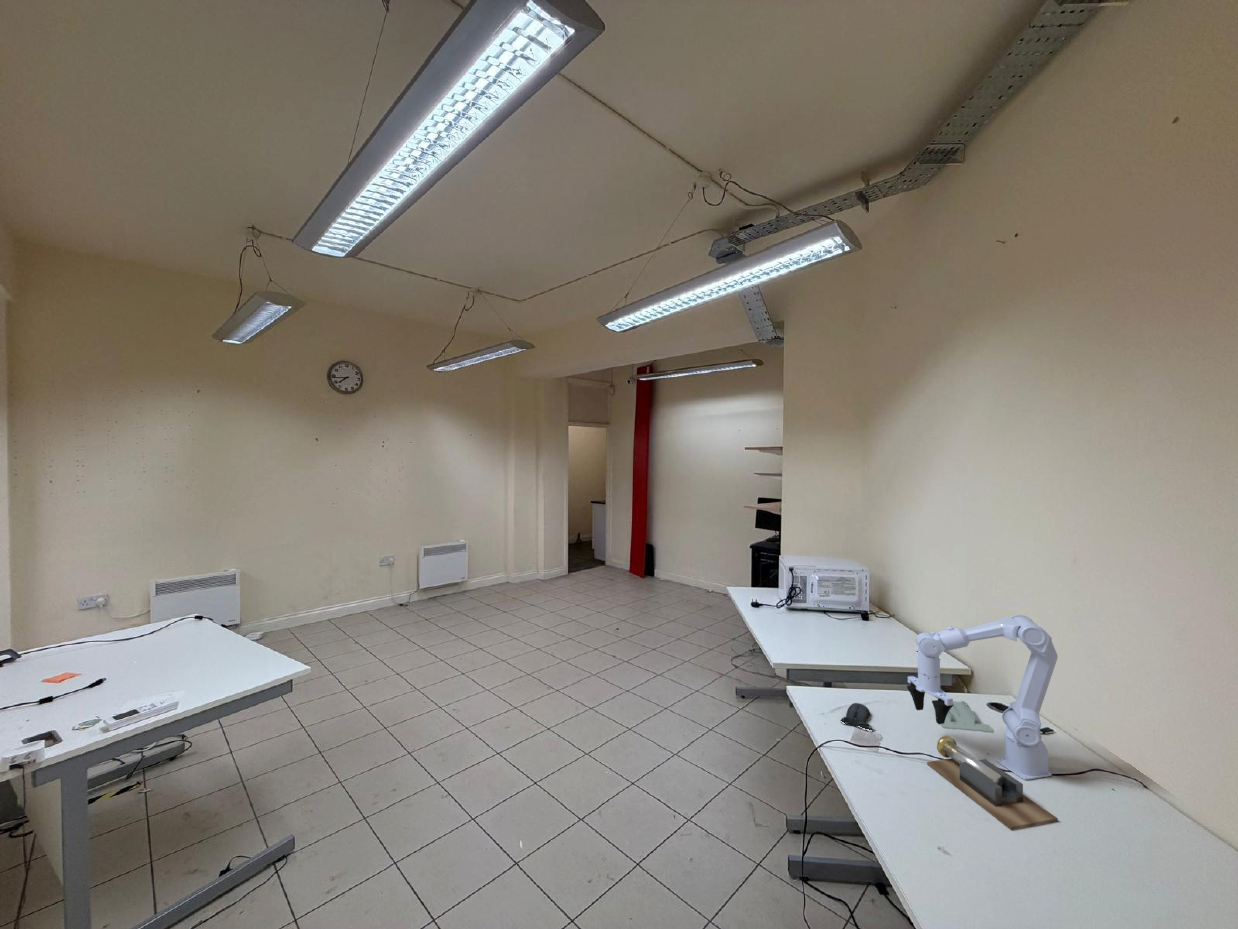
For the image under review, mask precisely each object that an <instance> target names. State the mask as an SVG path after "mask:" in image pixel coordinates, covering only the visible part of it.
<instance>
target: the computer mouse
mask: <svg viewBox="0 0 1238 929" xmlns="http://www.w3.org/2000/svg"><path fill="white" fill-rule="evenodd" d="M870 717H871V712H870V709H869V708H868V707H867V706H866V705H865V704H863V703H858V702H854V703H851V705H850V706H849V707H848V708H847V710H846V715H845V716H843V717H841V719H840V721H842V722H843V721H844V722H846V723H845V724H846V725H845V726H852V725H854V726H853V727H855V726H860V727H862V728H865V729H869V730H873V731H874V725H872V724H870V723H867V720H869V718H870Z"/></svg>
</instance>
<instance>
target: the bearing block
mask: <svg viewBox="0 0 1238 929" xmlns="http://www.w3.org/2000/svg"><path fill="white" fill-rule="evenodd" d="M978 760H979V761H981V762H982V763H984V764H985V765H987V766H988V767H990V768H991V769H993V770H994V771H995V772H997V773H998V774H1000V775H1001V776H1002V777H1003V779H1004V783H1003V786H1002V787H1000V786H999V785H997V784H996V783H995V782H993V781H992V780H990V779H989V778H988V777H986V776H985V775H983V774H982V773H980V772H979V771H978V770H976V769H975V768H973V767H972V766H971V765H969V764H968V763H966V762H962V763H959V766H960V780H961V781H962V782H964V783H965V784H966V785H968V786H969V787H970V788H972V789H973V790H974V791H976V792H977V793H978V794H980V795H981V796H982V797H983V798H985V799H986V800H987V801H989V802H990V803H991V804H993V805H994V806H995V807H996V806H1002V805H1008V804H1013V803H1019V802H1023V795H1024V784H1023V783H1022V782H1020V781H1019V780H1018V779H1016V778H1015V777H1013V776H1012V775H1010V774H1008V773H1007V772H1006V771H1004V770H1003V769H1001V768H999V766H997V765H995V764H994V763H993V762H991V761H989V760H987V759H986V758H984V759H983V758H982V759H978Z"/></svg>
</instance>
